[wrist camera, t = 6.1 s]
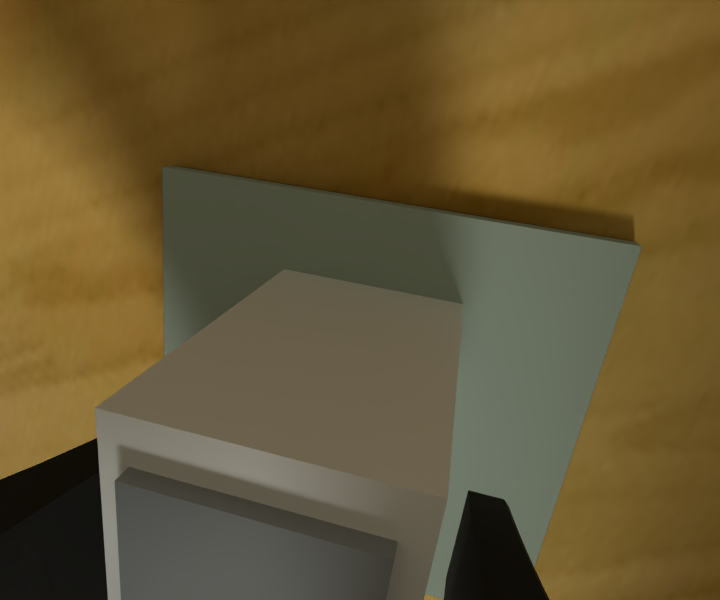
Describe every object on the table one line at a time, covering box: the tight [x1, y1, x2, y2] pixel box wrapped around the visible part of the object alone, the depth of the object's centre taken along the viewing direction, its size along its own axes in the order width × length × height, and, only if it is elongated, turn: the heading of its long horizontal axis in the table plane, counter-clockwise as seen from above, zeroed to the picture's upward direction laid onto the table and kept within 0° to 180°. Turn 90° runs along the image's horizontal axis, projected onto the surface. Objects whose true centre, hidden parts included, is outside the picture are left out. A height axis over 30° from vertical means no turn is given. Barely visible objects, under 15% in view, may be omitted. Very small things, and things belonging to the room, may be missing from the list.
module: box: [95, 269, 463, 600], centre depth 9 cm, size 4×7×6 cm, turn 173°
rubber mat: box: [162, 166, 642, 599], centre depth 12 cm, size 10×10×1 cm
